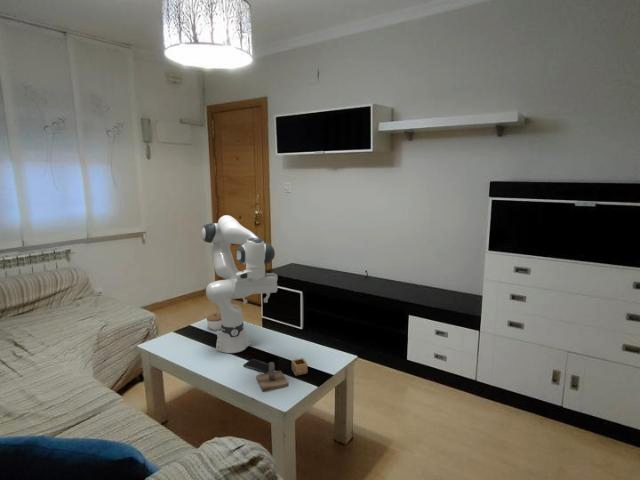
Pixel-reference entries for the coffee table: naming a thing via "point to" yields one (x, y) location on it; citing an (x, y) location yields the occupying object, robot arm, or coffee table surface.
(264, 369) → the phone
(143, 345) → the coffee table surface
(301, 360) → the wooden square sleeve
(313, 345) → the coffee table surface
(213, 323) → the lidded jar
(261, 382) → the post stand
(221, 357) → the coffee table surface
